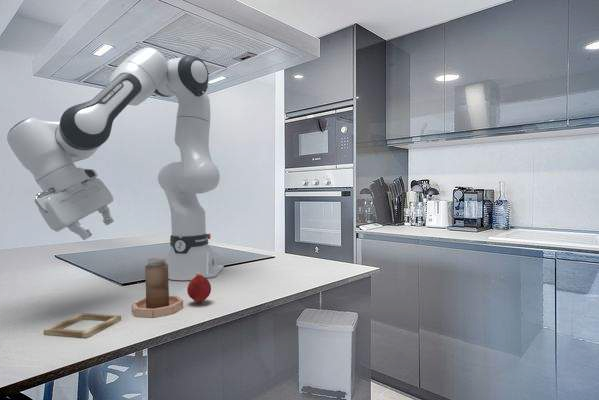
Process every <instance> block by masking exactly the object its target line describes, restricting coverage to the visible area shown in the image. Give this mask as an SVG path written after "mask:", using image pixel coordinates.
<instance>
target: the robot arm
mask: <svg viewBox="0 0 599 400" xmlns="http://www.w3.org/2000/svg"><path fill="white" fill-rule="evenodd" d="M208 84H209V70H208V67H207V65H206V63H205V62H204V61H203V60H202V58H200V57H198V56H195V55H184V56H182V57H176V58H175V57H174V58H171V59H168V60H167V59H166V58H165V56H164V55H163V54H162V52H160V51H159V50H157V49H155V48H153V47H148V46H147V47H144V48H143V47H142V48H140V49H138V50H137V51H135V52H133V53H132V54H131V55H128V57H126V58H125V59H124V60H123V61H122V62H120V64H119V65H117V66H116V67H115V69H114V70H113V72H112V74H111V75H110V77H109V78H108V80H107V85H106V86H105V87H104V88H103V89H102V90H100V92H98V93H97V95H95V96H94V97H93V98H92V99H90V100H88V101H85V102H81V103H79V104H75V105H73V106H70V107H68V108H67V109H66V110H64V111H63V113H62V114H61V117H60V120H59V121H54V120H53V121H49V120H44V119H38V118H36V117H29V118H26V119H23V120H21V121H19V122H17V123H16V124H15V125H13V127H11V128H10V130H9V131H8V133H7V137H6V140H7V144H8V145H9V147H10V149H11V151H12V152H13V154H14V156H15V157H16V158H17V159H18V161H19V162H20V164H21V165H22V166H23V167H24V168H25V169H26V170H28V171H29V172H30V173H31V174H32V176H33V178H34V181H35V182H36V184H37V185H38V187H40V189H41V190H42V192H41V191H39V192H38V193H36V194H35V197H34V203H35V205H36V206H37V208H38V211H39V213H40V215H41V216H42V218H43V219H44V221H45V223H46V224H47V225H48V227H49V228H50V230H52V231H54V232H59V231H62V230H64V229H66V228H67V229H68V230H69V231H70V232H72V233H73V234H76V235H78V236H79V237H80V238H81V240H83V241H85V240H87V239H88V238H91V237H92V235H93V234H92V232H91V230H90V229H88V228H87V229H85V228H84V227H82V226H81V224H82V223H80V221H81V220H83V219H84V218H86V217H88V216H89V215H91V214H93V213H96V212H98V213H99V214H100V215H101V216H102V218H103V219H102V220H101V221H102V222H103V223H104V225H105V226H109V225H111V224H112V223H114V222H115V220H114V218H113V217H112V216H111V211H110V208H109V207H108V205H110V204H111V203H112V202H114V197H113V194H112V192H111V191H110V189H109V188H108V187H107V186H106V184H105V183H104V182H103V181H102V180H101V179H100V178H98V175H99V174H98V173H97V171H96V170H95V169H91V168H84V167H83V168H82V167H77V166H76V164H75V163H76V162H80V161H83V160H87V159H89V158H90V157H92V156H93V155H94V154H95V153H96V151H98V149H99V148H100V147H101V146H102V145H104V144H105V143H106V142H107V141H108V139H109V137H110V135H111V132H112V127H113V122H114V121H115V119H116V118H117V117H118V116H119V114H121V113H122V112H123V111H124V110H125V109H126V107H127V106H128V105H129V106H132V107H133V106H139V105H141V104H142V103H143V102H145V101H146V100H147V99H149V97H151V96H152V95H153V94H155V95H157V96H158V97H164V98H168V97H169V98H170V97H173V96H174V97H176V99H177V104H178V106H177V112H176V120H175V121H176V122H175V130H174V132H175V133H174V143H175V145H176V146H177V147H178V149H179V151H180V158H181V160H180V161H177V162H176V161H175V162H171V163H168V164H166V165H165V166H162V167H161V169H160V170H159V172H158V174H157V181H158V184H159V187H160V188H162V190H163V191H164V193H165V196H166V199H167V202H168V205H169V209H170V211H169V212H170V219H171V220H170V223H171V226H170V227H171V235H170V237H169V242H170V249H169V250H168V251H167V255H166V256H167V258H166V260H167V261H166V264H168V278H169V280H172V281H191V280H192V279H193V278H194V277H196V274H197V272H199V273H200V274H201V275H202V276H203V277H205V278H206V279H208V278H209V279H210V278H215V277H217V276H218V275H219V274H220V272H221V271H222V270H224V269H225V266H224V265H222V264H219V263H218V254H217V252H216V251H215V250H214V249H213V248H212V246H210V244H209V240H211V238H212V235H211V233H206V232H207V231H206V211H205V209H204V208H203V207H202V206H201V204H200V202H199V199H198V197H197V194H204V193H208V192H210V191H211V192H212V191H213V190H215V189H216V188H217V187H218V186H219V183H220V179H221V175H220V171H219V169H218V167H217V165H216V164H214V162H213V160H212V157H211V153H210V147H209V144H210V143H209V142H210V141H209V140H210V126H211V103H210V102H211V101H210V96H209V95H208V94H207V93H206V92H207V90H208Z"/></svg>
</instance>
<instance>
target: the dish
mask: <svg viewBox="0 0 599 400" xmlns="http://www.w3.org/2000/svg"><path fill="white" fill-rule="evenodd" d="M183 308H184V300H183V298H181V297H180V296H178V295H170V294H169V306H166V307H161V308H155V309H149V308H146V297H144V298H141V299H138V300H137V301H134V302H132V303H131V312H132V315H134V317H136V318H159V317H163V316H168V315H174V314H175V313H177V312H178V311H180V310H182V309H183Z"/></svg>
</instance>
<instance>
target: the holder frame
mask: <svg viewBox="0 0 599 400" xmlns="http://www.w3.org/2000/svg"><path fill="white" fill-rule="evenodd" d="M82 320H88V321H89V320H90V321H103V322H101V323H99V324H97V325H95V326H93V327H91V328H89V329H86V330H81V329H66V328H67V327H70V326H71V325H73V324H75V323H78V322H79V321H82ZM121 320H122V315H119V314H118V315H117V314H101V313H99V314H98V313H86V312H82V313H80V314H77V315H75V316H72V317H70V318H68V319H65V320H64V321H61V322H59V323H56V324H54V325H52V326H49V327H46V328H44V329H43V335H46V336H56V337H68V338H78V339H88V338H90V337H92V336H93V335H95V334H98V333H100V332H101V331H104V330H105V329H107V328H109V327H111V326H112V325H114V324H117V323H119V322H120V321H121Z"/></svg>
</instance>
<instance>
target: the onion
mask: <svg viewBox="0 0 599 400" xmlns="http://www.w3.org/2000/svg"><path fill="white" fill-rule="evenodd" d="M211 293H212V285H211V282H210V281H209V279H208V278H205V277H203V276H202V275H201V274H200V273H199V272H197V274H196V277H194V278H193V279H192V280H189V283H188V285H187V295H188V297H189V298H190V299H191V300H192V301H194V302H195V303H196V304H202V303H203V302H204V301H206V300H207V298H208V297H209V296H210V295H211Z"/></svg>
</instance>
